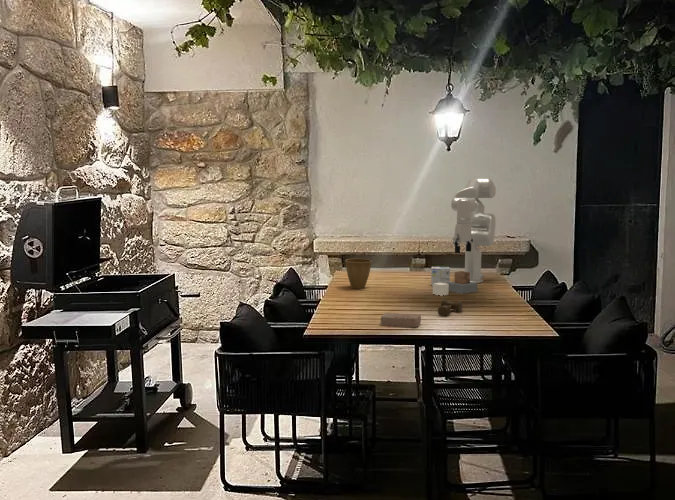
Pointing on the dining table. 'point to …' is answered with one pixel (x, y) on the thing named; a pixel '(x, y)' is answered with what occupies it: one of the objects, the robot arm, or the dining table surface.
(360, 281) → the plant pot
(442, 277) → the light bulb box
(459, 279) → the walnut cube
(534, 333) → the dining table surface
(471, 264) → the robot arm
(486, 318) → the dining table surface
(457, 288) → the base block
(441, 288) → the off-white cube
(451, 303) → the kendama
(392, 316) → the brick
